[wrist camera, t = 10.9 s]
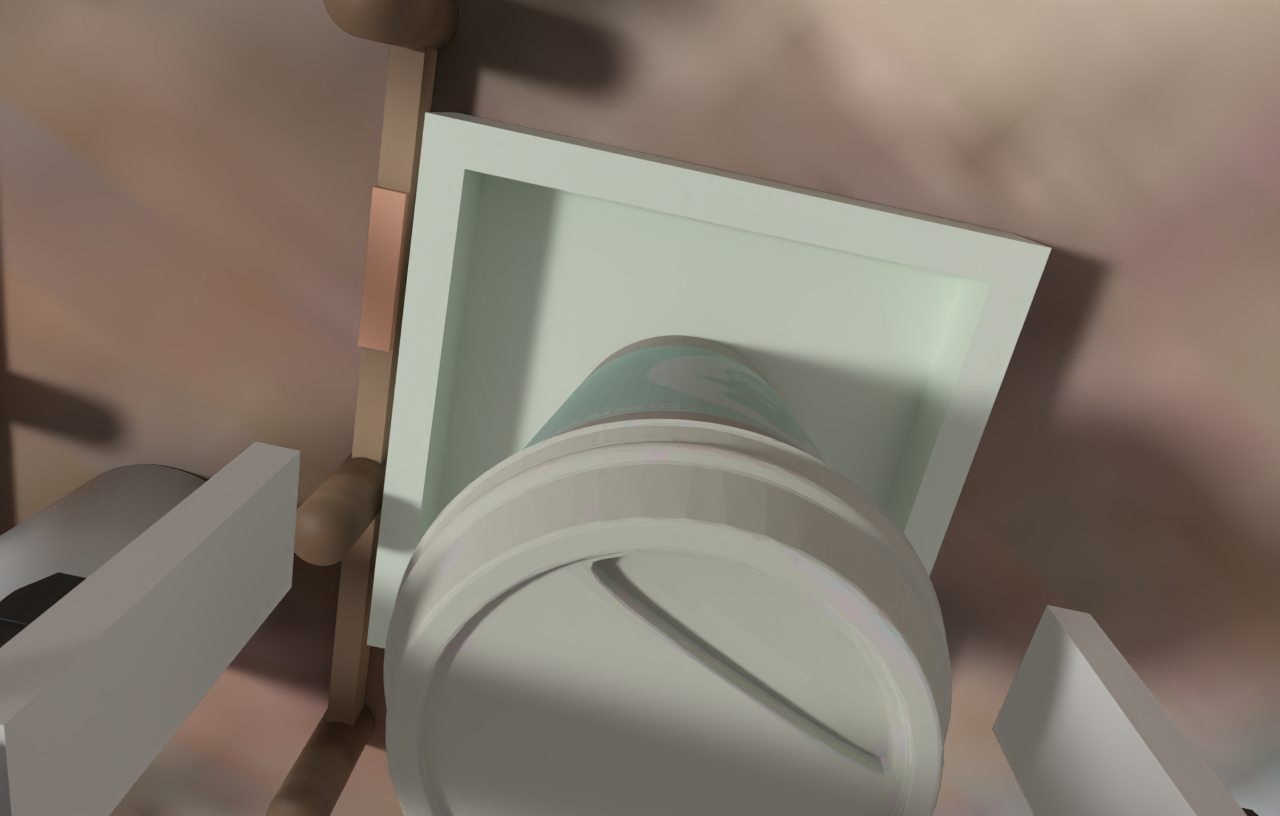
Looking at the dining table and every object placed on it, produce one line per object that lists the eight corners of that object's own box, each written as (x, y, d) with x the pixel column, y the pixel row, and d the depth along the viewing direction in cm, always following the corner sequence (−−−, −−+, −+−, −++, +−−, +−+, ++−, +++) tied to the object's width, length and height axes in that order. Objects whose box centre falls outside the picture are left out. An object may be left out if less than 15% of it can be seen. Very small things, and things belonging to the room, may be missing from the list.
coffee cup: (874, 529, 23) (1050, 933, 12) (585, 612, 24) (494, 1043, 13) (783, 232, 20) (894, 380, 9) (466, 343, 22) (227, 590, 11)
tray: (455, 112, 21) (425, 112, 18) (1010, 232, 21) (1051, 248, 18) (396, 595, 25) (366, 645, 23) (849, 688, 26) (866, 747, 23)
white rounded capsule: (58, 444, 24) (-343, 656, 15) (277, 489, 24) (17, 729, 15) (64, 628, 26) (-282, 916, 17) (266, 669, 26) (33, 978, 17)
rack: (-165, -670, 16) (-420, -903, 13) (520, -512, 17) (472, -695, 13) (-45, 660, 27) (-163, 749, 23) (372, 744, 27) (321, 846, 23)
